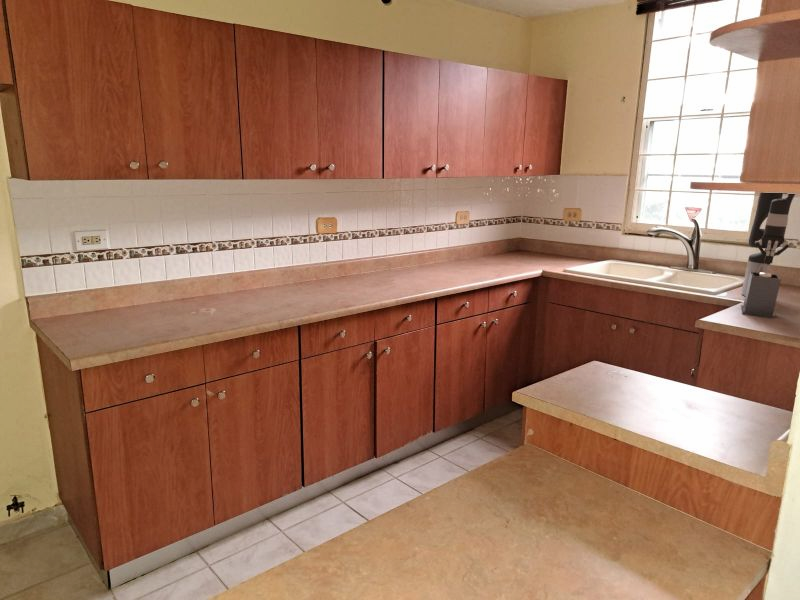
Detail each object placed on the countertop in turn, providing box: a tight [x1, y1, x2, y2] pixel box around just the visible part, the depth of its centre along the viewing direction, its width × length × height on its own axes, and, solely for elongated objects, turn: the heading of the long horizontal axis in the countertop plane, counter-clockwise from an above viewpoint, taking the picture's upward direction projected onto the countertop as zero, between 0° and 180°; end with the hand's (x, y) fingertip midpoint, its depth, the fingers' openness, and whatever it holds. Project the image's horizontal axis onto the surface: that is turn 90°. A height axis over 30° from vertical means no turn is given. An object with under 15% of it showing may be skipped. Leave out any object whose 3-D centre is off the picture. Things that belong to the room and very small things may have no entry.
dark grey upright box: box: [740, 272, 782, 319], centre depth 254 cm, size 12×12×17 cm
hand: (767, 264), depth 250 cm, fingers closed
